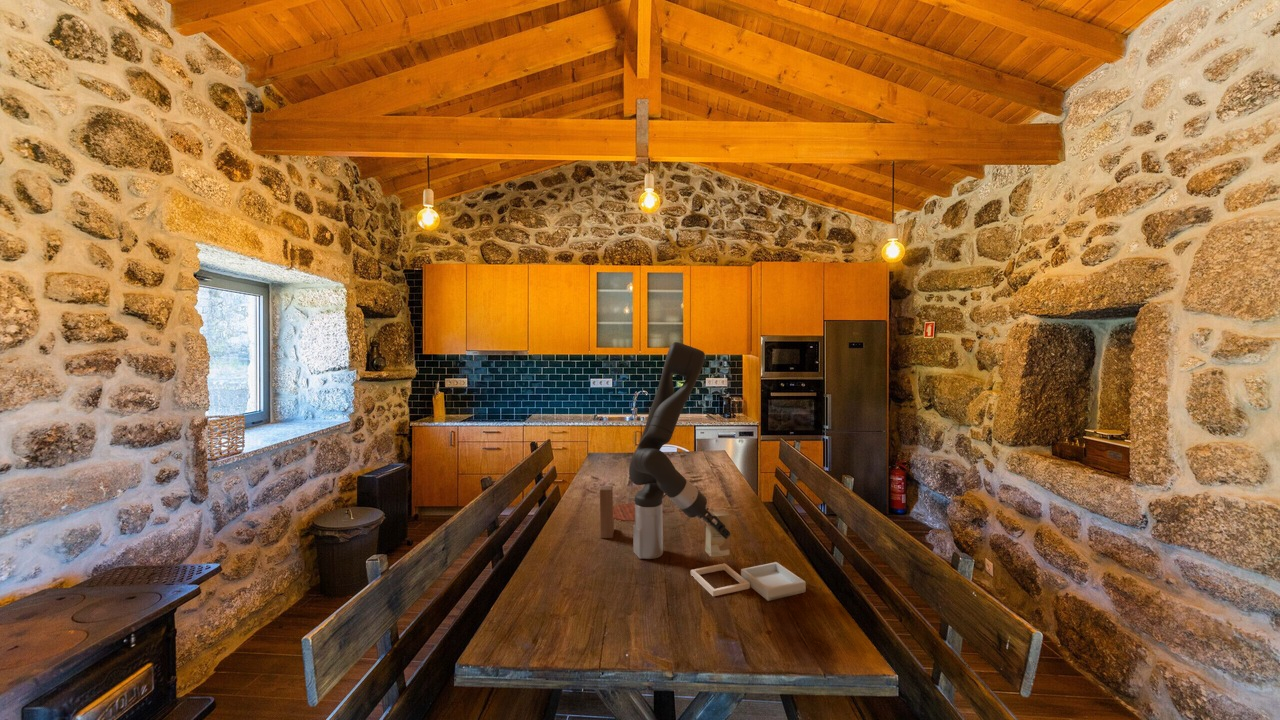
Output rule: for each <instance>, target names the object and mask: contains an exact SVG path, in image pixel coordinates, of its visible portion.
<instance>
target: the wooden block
mask: <svg viewBox="0 0 1280 720" xmlns="http://www.w3.org/2000/svg"><path fill="white" fill-rule="evenodd" d="M613 491H614V489H613V486H611V485H610V486H609V485H607V486H600V488H599V519H600V520H599V521H600V522H599V525H600V531H599V532H600V535H599V536H600V539H613V538H614V533H615V532H614V531H615V523H614V520H615V519H614V518H613V507H614V500H613V499H614V497H613V496H614V494H613V493H614V492H613Z"/></svg>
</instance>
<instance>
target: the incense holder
mask: <svg viewBox="0 0 1280 720" xmlns="http://www.w3.org/2000/svg"><path fill="white" fill-rule="evenodd" d="M666 496H667V495H666V494H665V493H664V496H663V498H662V500H663V499H664V498H665V497H666ZM613 518H614V520H615V519H616V520H615V521H618V520H621V521H620V522H625V521H635V502H633V503H621V504H617V505H613Z"/></svg>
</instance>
